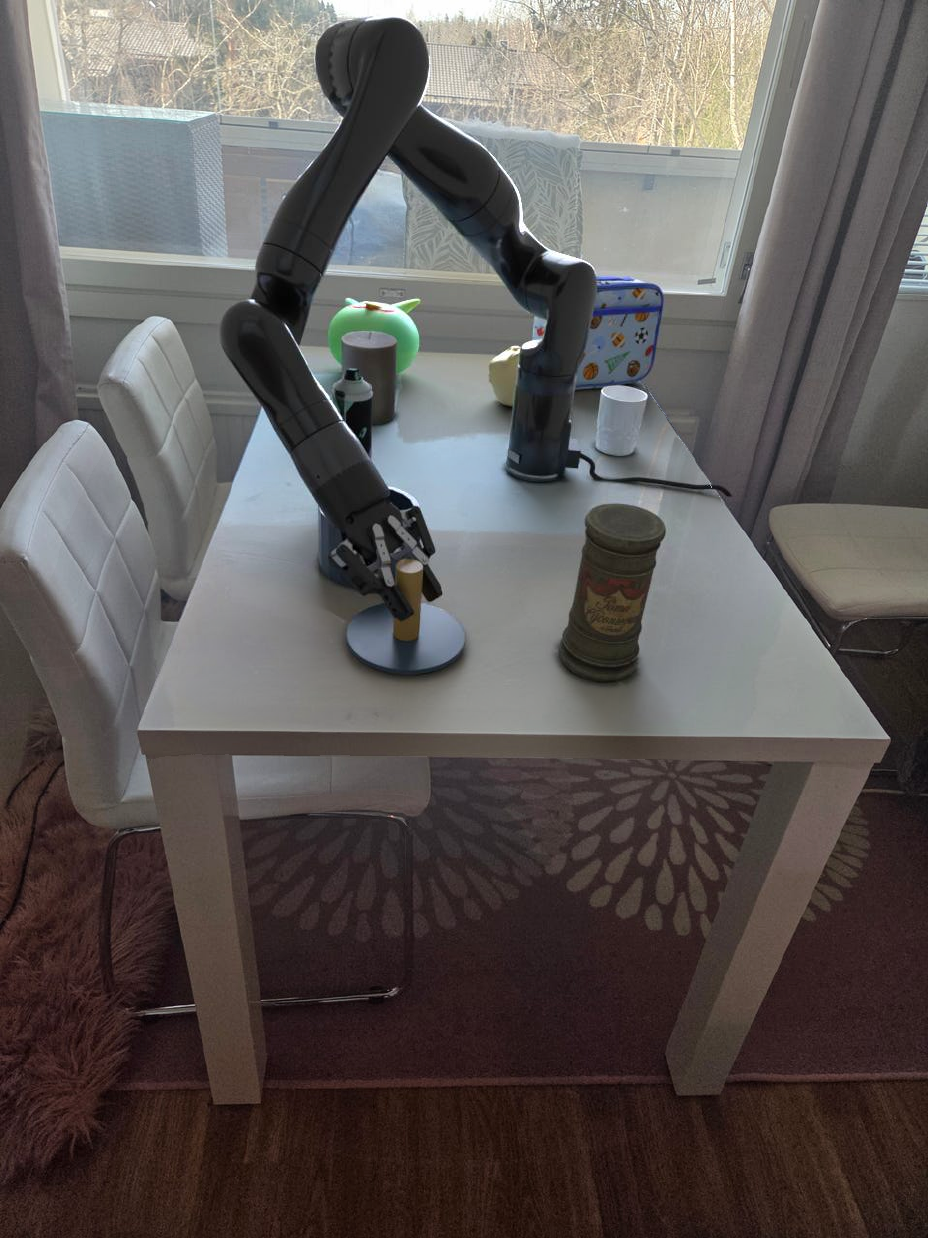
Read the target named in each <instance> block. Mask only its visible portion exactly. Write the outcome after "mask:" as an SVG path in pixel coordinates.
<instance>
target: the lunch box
mask: <svg viewBox="0 0 928 1238" xmlns="http://www.w3.org/2000/svg"><path fill="white" fill-rule="evenodd" d="M596 277H597V295H596V302H595V307H594V312H593V316H592V321H591V326H590V330H589V335H588V340H587V345H586V348H585V351H584V353H583V355H582V357H581V359H580V362H579V367H578V373H577V379H576V386H575V391H576V390H577V391H578V390H587V389H588V390H589V389H603V388H604V387H607V386H615V385H618V386H622V385H626V384H632V383H636V382H640V381H642V380H644V379H645V378H646V377H647V376H648V375H649V374H650V372H651V371H652V368H653V367H654V363H655V359H656V351H657V345H658V339H659V333H660V326H661V322H662V318H663V317H662V316H663V311H664V310H663V309H664V303H665V298H664V297H665V296H664V293H663V290H662V288H661V287H660V286H659V285H657V284H655V283H651V282H644V281H642V280H640V279H637V278H633V277H631V276H616V275H607V276H606V275H605V276H597V275H596ZM546 324H547V321H546V320H543V319H541V318H538V317H536V316H534V319H533V329H532V337H531V338H532V339H531V341H533V340H539V339H543V337H544V333H545V329H546Z"/></svg>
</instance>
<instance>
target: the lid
mask: <svg viewBox="0 0 928 1238" xmlns="http://www.w3.org/2000/svg"><path fill="white" fill-rule="evenodd" d="M422 580H423V565H422V563H420V562H419V561H417V560H413V559H404V560H401V561H399V562H397V563H396V568H395V585H397V584H398V586H399V587H400V589H401V591H402V592H403V594H404V596H405V597H406V599H407V600H408V602H409V604H410V605H411V607H412V608H413V610H414V614H413V615H412V616H411V617H409V618H407V619H405V620H404V621H399V620H398V619H397V618H395V617H394V616H393V615H392V614H391V612H390V611H389V609H388V607H387V606H386V604H385V603H384V602H383V603H382V602H381V603H378V604H375V605H372V606H369V607H367V608H365V609H363V610H361V611H360V612H358V613H356V615H354V616H353V617H352V619H351V620H350V621H349V623H348V625H347V627H346V632H345V640H346V644H347V648H348V649H349V651H350V652H351V653H352V654H353V656H354V657H355V658H356V659H358V660H359V661H360V662H361V663H363V664H365V665H367V666H369V667H371V668H373V669H376V670H379V671H382V672H386V673H391V674H398V675H420V674H426V673H430V672H435V671H438V670H441V669H443V668H445V667H447V666H449V665H451V664H452V663H453V662H455V661H456V660H457V659H458V658H459V657H460V656H461V654H462V652H463V651H464V648H465V645H466V633H465V629H464V627H463V625H462V624H461V622H460V621H459V620H458V619H457V618H456V617H455V616H453V615H452V614H451V613H449V612H448V611H446V610H444V609H442V608H440V607H438V606H435V605H431V604H428V603H425V602H422V597H423V594H422ZM395 585H394V586H395Z"/></svg>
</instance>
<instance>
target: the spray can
mask: <svg viewBox="0 0 928 1238" xmlns="http://www.w3.org/2000/svg"><path fill="white" fill-rule="evenodd" d="M331 393H332V394H331V396H332V397H331V400H332V401H333V403H334V404H335V406H336V408H337V409H338V411H339V413H340V414H341V416H342V418H343V419H344V422H346V424H347V425H348V427H349V428H350V429H351V430H352V432H353V433H354V434H355V435H356V437H357V438H358V439H359V441H360V443H361V444H362V446H363V447H364V449H365V451H366V452H367V454H368V456H369V457H370V459H371V460H372V459H373V458H372V457H373V456H372V454H373V453H372V452H373V424H372V404H373V392H372V386H371V384H369V383H367V382H365V381H364V380H363V377H361V376H360V374H359V369H358V368H357V367H354V368H350V369H346V374H345V375H344V376H343V377H342V376H341V379H340V380H338V381H337V380H336V381H335V382H334V383H333V384H332V390H331ZM372 461H373V460H372Z"/></svg>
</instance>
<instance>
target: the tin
mask: <svg viewBox="0 0 928 1238" xmlns="http://www.w3.org/2000/svg"><path fill="white" fill-rule="evenodd" d="M387 486H388V488H389V490H390V495H389V499H390V501H391V503H392V504H393V505H394V506H396V507H397V508H398V509H399V510H400V511H402V510H409V509H410V508H412V507H413V506H418V507H419V508H420V509H421V507H420V504H419V502H418V500H417V499H416V498H415V497H414V496H413V495H411V494H410V493H409V492H407V491H404V490H402V489H399V488H397V487H394V486H389V485H387ZM317 523H318V526H317V528H318V530H317V531H318V562H319V567H320V570H321V571H322V573H323V574H324V575H325V576H326V577H327V578H329V579H330V580H332V581H333V582H335V583H337V584H339V585H343V586H346V587H350V588H354V587H353V585H352V584H351V583H350V582H349V581H348V580H347V579H346V578H345V577H344V576H343V575H342V574H341V573H340V572H339V571H338V570H337V569H336V568H335V567H334V566H333V565H332V564H331V563H330V562H329V560H328V558H327V556H328V554H329V553H330V552H332V551H333V550H335V549H336V548H337V547H338V546H339V545H340V544H341V543H342V541H341V536H340V532H339V530H338V529H337V528H334V527H332V526H331V525H330V523H329V522H328V520H327V519H326V517H325V515H324V514H323V512H322V511H321V509H320V507H319V506H318V505H317ZM402 545H403V546H404V544H402ZM408 555H409V556H410V557H411V558H412V559H413V557H412V556H411V555H410V554H408ZM356 556H357V557H358V558H359V559H360V557H359V554H356ZM389 556H390V555H389ZM390 559H391V564H390V569H391V572H392V575H393V578H394V582H395V568H396V563H397V562H399V561H397V560H394V559H393V558H392V557H391V556H390ZM373 563H374V561H373ZM380 576H381V575H380ZM394 586H395V583H394Z"/></svg>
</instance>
